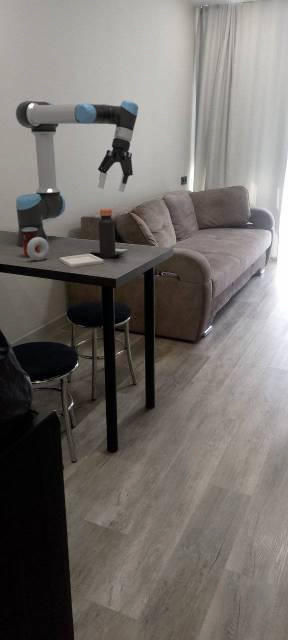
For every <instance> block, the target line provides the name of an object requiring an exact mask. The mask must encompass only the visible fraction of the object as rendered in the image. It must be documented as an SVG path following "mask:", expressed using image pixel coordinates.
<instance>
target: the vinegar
mask: <svg viewBox="0 0 288 640" xmlns="http://www.w3.org/2000/svg"><path fill="white" fill-rule="evenodd" d="M99 215H100V219H99V220H98V241H99V256H100V257H101V258H105V259H110V258H115V257H116V256H115V253H116V233H115V231H116V229H115V228H116V227H115V225H116V224H115V221H114V220H113V219H112V215H113V212H112V209H111V208H103V209H99ZM100 257H99V258H100Z"/></svg>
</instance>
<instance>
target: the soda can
mask: <svg viewBox="0 0 288 640" xmlns="http://www.w3.org/2000/svg"><path fill="white" fill-rule="evenodd" d="M35 237H39V236H38V229H36V228H34V227H27V228H24V229H22V241H23V246H22V247H23V254H24V256H25V257H26V258H30V257H29V255H28V253H27V245H28V243H29V241H30V240H31V239H33V238H35ZM35 251H36V252H37V253H39V252H40V251H41V246H39V245H37V246H36V247H35Z"/></svg>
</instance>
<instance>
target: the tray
mask: <svg viewBox="0 0 288 640" xmlns="http://www.w3.org/2000/svg"><path fill="white" fill-rule="evenodd" d="M59 262H61V263H63V264H64V265H66V266H67V267H69V268H71V269H75V268H81V267H88V266H94V265H103V264H104V259H102V258H100V257H98V256H95V255H94V254H91V253H85V254H76V255H70V256H69V255H68V256H64V257H63V256H62V257H59Z"/></svg>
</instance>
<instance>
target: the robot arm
mask: <svg viewBox="0 0 288 640" xmlns="http://www.w3.org/2000/svg"><path fill="white" fill-rule="evenodd" d="M138 113H139V106H138V104H137V103H136V102H134V101H131V100H123V101H121V104H120V105H112V104H111V105H110V104H93V103H77V104H76V103H75V104H73V103H72V104H54V103H51V102H47V101H33V100H25V101H22V102H21V103H19V104H18V105H17V107H16V110H15V117H16V120H17V122H18V124H19V125H20V126H22V127H24V128H26V129H31V131H30V132H31V134H32V135H33V136H34V138H35V139H34V140H35V150H36V151H35V153H36V167H37V177H38V178H37V179H38V189H36V191H35V192H36V193H27V194H22V195H20V196H18V197H17V198H16V200H15V201H16V203H15V204H16V205H15V207H16V214H17V216H16V217H17V223H18V230H17V236H16V240H15V241H16V246H17V247H23V241H22V229H24V228H27V227H34V228H36V229H38V236H39V237H41V238H44V239H45V240H46V241H47V243H48V244H49V238H48V236H47V234H46V230H45V229H44V224H43V221H45V220H49V219H50V220H51V219H56V218H59V217H60V216H62V215H63V214H64V212H65V210H66V199H65V198H64V196H63V195H62V194H61V191H60V189H59V188H58V186H57V174H56V172H57V171H56V159H55V144H54V136H55V134H56V133H57V128H58V126H59V124H66V125H67V124H83V125H91V124H93V125H94V124H97V125H114V126H115V131H114V136H113V138H112V142H111V143H112V144H111V147H112V150H110V149H107V150H106V153H105V156H104V157H103V159H102V161H101V162H100V165H99V167H98V168H97V170H98V171H99V172H100V174H99V177H98V178H99V181H98V185H97V188H98V189H99V188H100V189H103V190H104V189H105V184H106V180H107V176H108V173H107V172H108V171H110V169H111V168H112V166H113V165H114V164H116V163H119V164H120V169H121V171H122V174H121V176H120V181H119V185H118V189H117V191H118V192H121V193H125V189H126V185H127V183H128V179H129V177H130V176H133V174H134V172H133V162H132V161H133V160H132V156H133V154H132V152H130V151H129V150H130V147H131V142H132V139H133V135H134V129H135V124H136V122H137V117H138ZM39 247H41V246H40V245H39Z"/></svg>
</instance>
